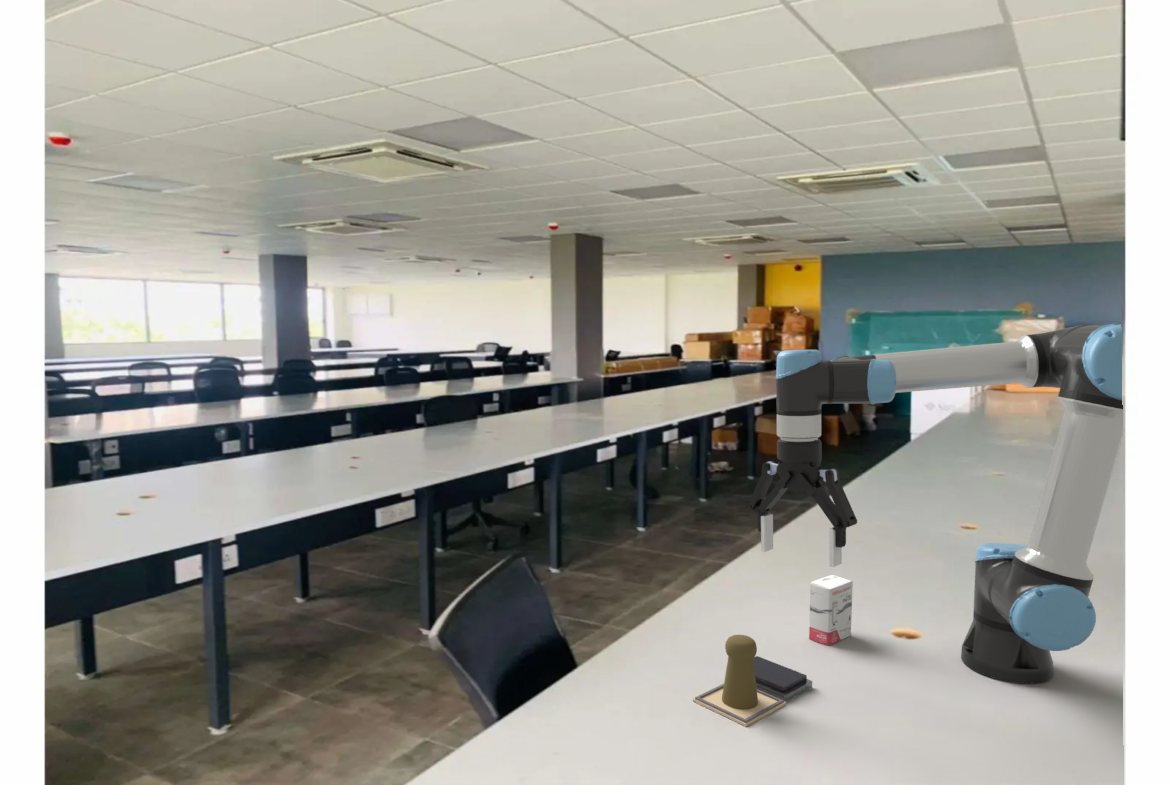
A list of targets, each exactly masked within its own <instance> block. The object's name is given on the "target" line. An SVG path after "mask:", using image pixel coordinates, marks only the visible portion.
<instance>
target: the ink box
mask: <svg viewBox="0 0 1170 785" xmlns="http://www.w3.org/2000/svg"><path fill="white" fill-rule="evenodd" d="M853 583H854V581H853V580H850V579H846V578H844V577H842V576H841V577H840V576H838V575H835V574H830V575H827V576H824V577H821V578H818V579H815V580H813V581H811V582H810V585H809V586H810V587H809V620H808V621H809V622H808V623H809V628H808V630H809V631H808V639H809V640H811V641H814V642H816V643H821V644H822V645H827V646H832V645H833V644H835V643H837V642H840V641H842V640H844V639H846V638H848V637H851V636H852V614H853V612H852V610H853V607H852V606H853V586H854V584H853Z"/></svg>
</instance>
